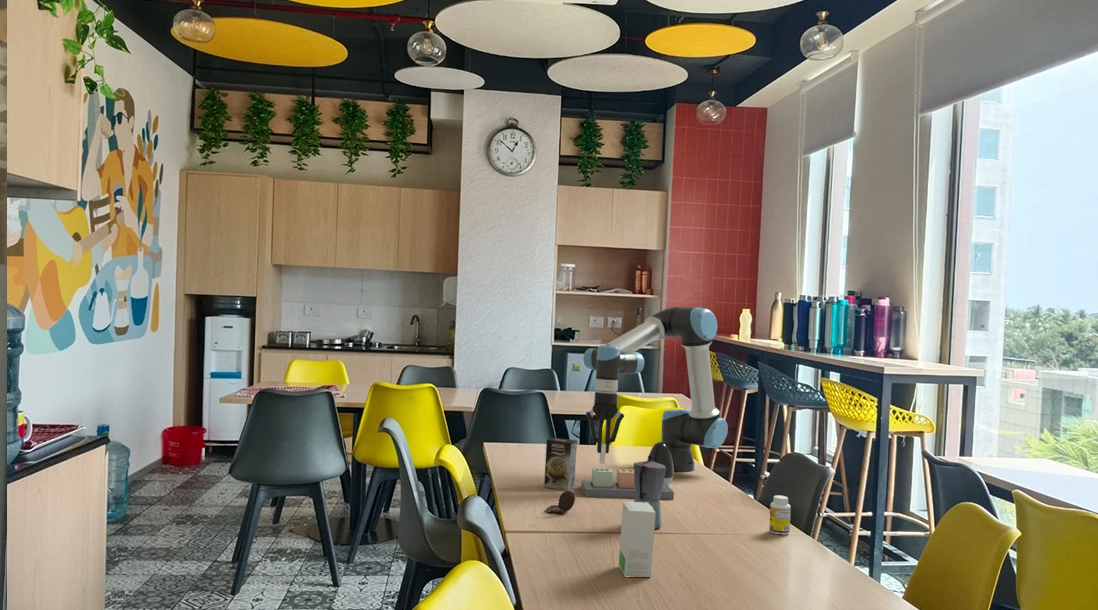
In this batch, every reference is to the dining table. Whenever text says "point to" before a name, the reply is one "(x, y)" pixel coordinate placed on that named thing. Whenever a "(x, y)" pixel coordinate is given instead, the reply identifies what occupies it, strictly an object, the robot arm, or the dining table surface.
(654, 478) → the moka pot
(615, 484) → the keypad board
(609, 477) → the sage key
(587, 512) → the dining table surface
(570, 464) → the coffee box
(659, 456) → the pump dispenser
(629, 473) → the terracotta key
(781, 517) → the supplement bottle
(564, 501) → the compass
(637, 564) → the skincare box
